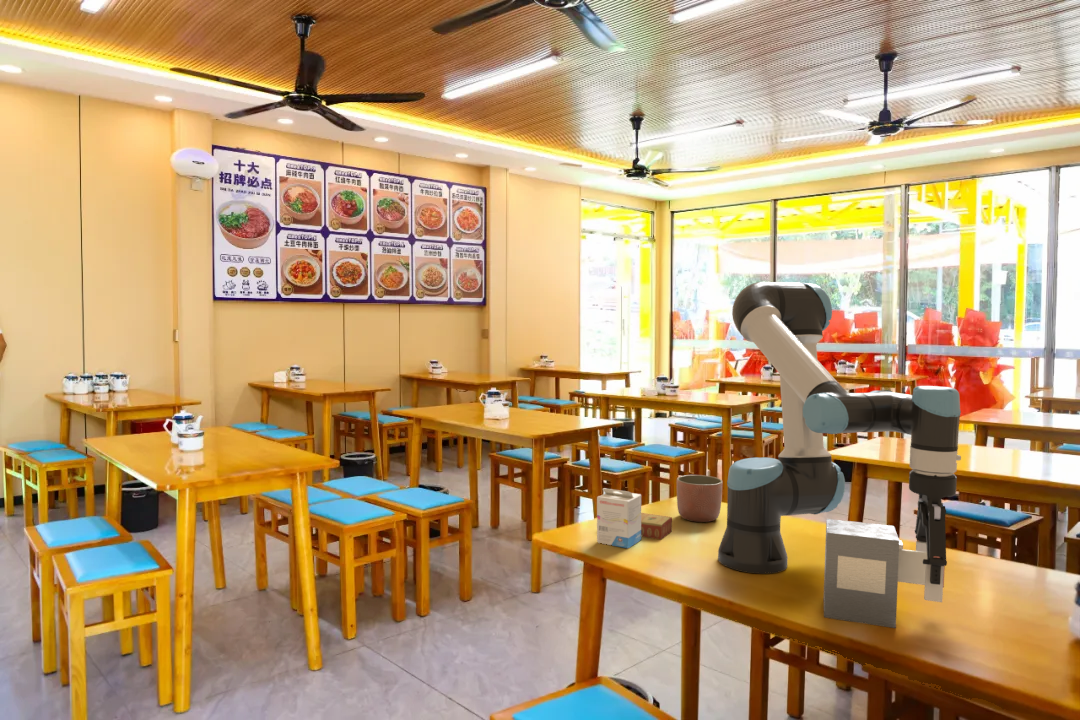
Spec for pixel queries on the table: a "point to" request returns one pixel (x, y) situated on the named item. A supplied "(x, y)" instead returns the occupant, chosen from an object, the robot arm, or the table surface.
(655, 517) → the carton
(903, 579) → the pink-tipped white stick
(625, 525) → the ink box
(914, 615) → the table surface
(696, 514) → the planter
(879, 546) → the dispenser
